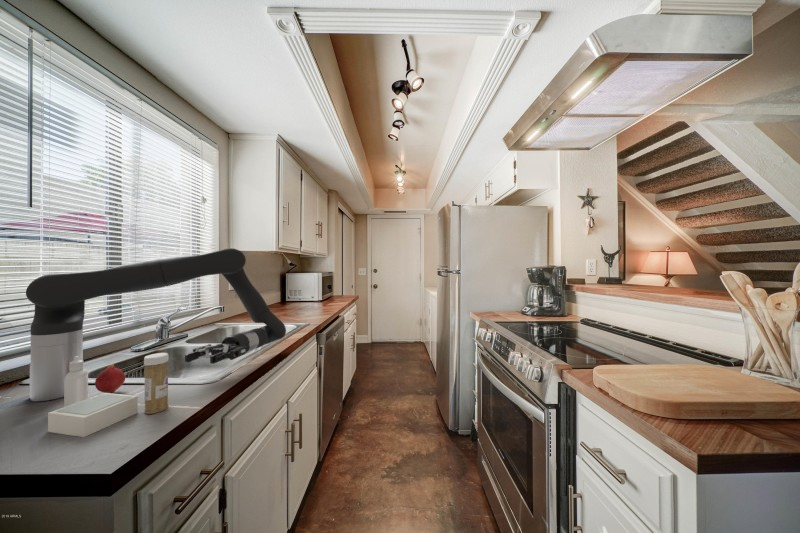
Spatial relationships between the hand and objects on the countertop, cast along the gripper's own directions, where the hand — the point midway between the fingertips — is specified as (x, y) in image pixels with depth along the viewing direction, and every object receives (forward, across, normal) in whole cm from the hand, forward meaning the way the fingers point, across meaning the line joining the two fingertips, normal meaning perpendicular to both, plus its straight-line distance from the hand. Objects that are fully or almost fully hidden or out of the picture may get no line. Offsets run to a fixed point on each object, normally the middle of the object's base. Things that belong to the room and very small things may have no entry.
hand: (198, 359), depth 81 cm
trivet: (+18, -8, +8) cm, 22 cm away
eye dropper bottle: (+12, -24, +9) cm, 29 cm away
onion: (+6, -22, +9) cm, 25 cm away
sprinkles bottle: (+12, 0, +9) cm, 14 cm away
